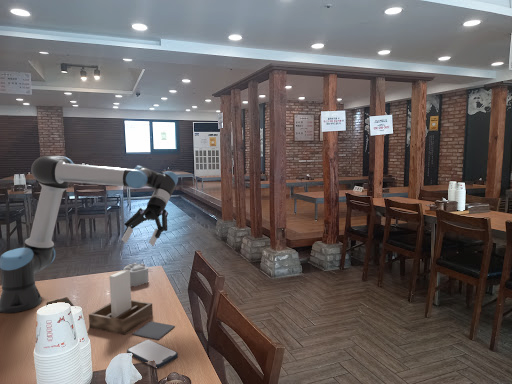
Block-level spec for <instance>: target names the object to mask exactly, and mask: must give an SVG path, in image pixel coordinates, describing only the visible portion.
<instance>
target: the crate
mask: <svg viewBox="0 0 512 384" xmlns="http://www.w3.org/2000/svg"><path fill="white" fill-rule="evenodd" d="M153 312H154V311H153V303H151V302H146V301H141V300H135V299H131V309H129V310H127V311H126V312H124V313H122V314H121V315H119V316H117V317H116V318H113V317H112V314H111V302H109V303H107V304H105V305H104V306H102V307H100V308H97V309H96V310H93V312H90V313H89V314H88V322H89V323H88V327H89V328H90V329H95V330H100V331H104V332H110V333H114V334H120V335H124V336H125V335H126V334H128V333H129V332H131V331H132V330H134V329H135V328H137V327H138V326H139V325H141V324H143V323H144V322H145V321H147V320H149V319H150V318H152V317H154V313H153Z"/></svg>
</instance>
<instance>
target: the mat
mask: <svg viewBox="0 0 512 384" xmlns="http://www.w3.org/2000/svg"><path fill="white" fill-rule="evenodd" d="M175 326H176V325H173V324H167V323H161V322H157V321H152V320H150V321H148V322H147V323H145V324H144V325H142V326H141V327H139V328H138V329H136V330H135V331H134V332H132V333H131V334H132V336H138V337H142V338H147V339H150V340H157V341H159V340H160V339H162V338H163V337H164V336H165V335H167V334H169V332H170V331H171V330H173V329H174V328H175Z"/></svg>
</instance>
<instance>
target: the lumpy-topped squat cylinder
mask: <svg viewBox="0 0 512 384" xmlns="http://www.w3.org/2000/svg"><path fill="white" fill-rule="evenodd" d="M124 269H126V270H130V287H132V286H134V287H139V286H141V285H140V284H142V285H145V284H144V283H146V284H148V283H149V282H148V281H149V280H150V279H149V267H148V266H146V265H145V263H139V264H138V263H136V262H134V263H130V264H128V265H125V266H124V267H123V270H124ZM147 282H148V283H147ZM138 285H139V286H138Z"/></svg>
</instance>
